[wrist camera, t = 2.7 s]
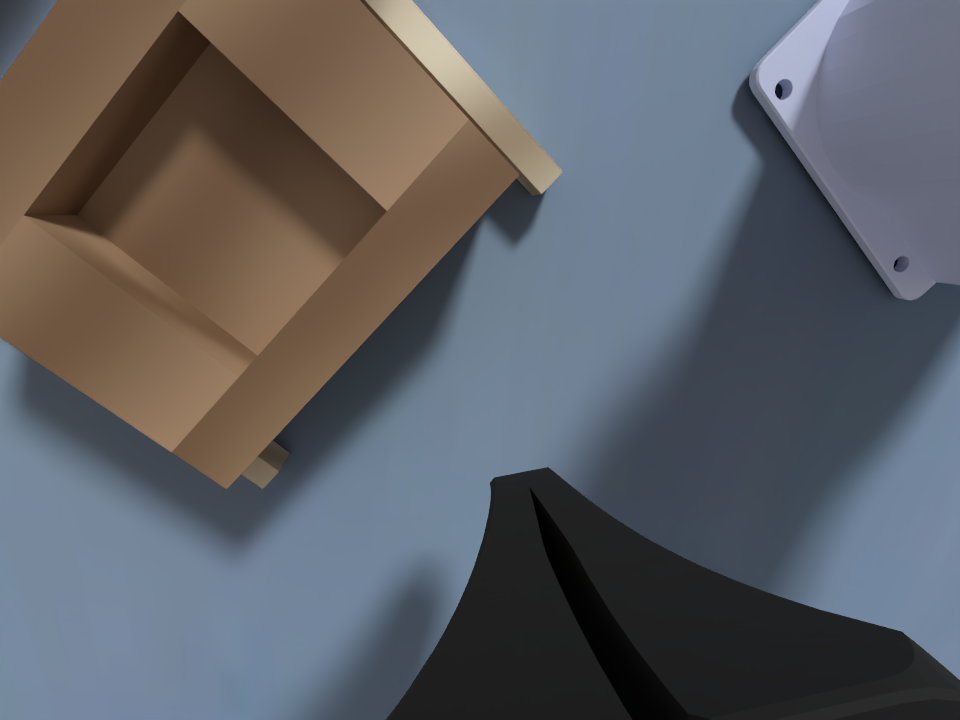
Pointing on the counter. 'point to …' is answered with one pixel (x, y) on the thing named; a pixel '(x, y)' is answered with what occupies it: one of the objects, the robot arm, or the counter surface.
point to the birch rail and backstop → (478, 105)
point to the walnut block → (221, 206)
